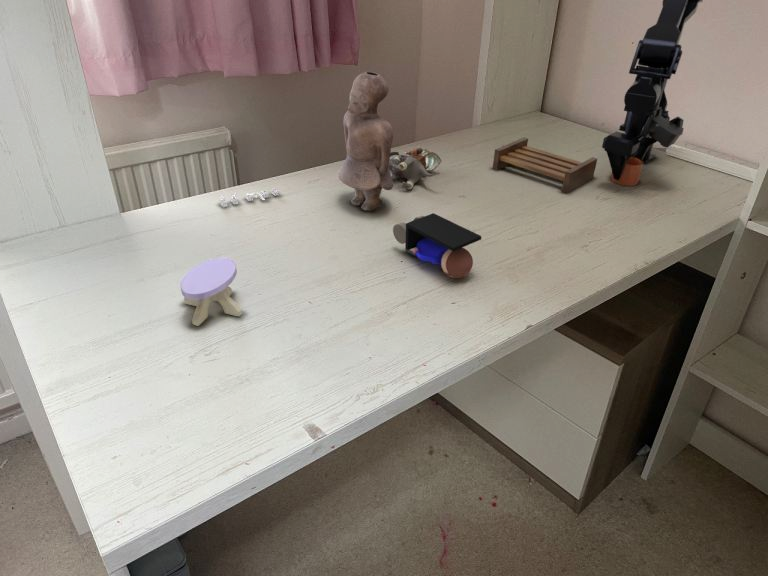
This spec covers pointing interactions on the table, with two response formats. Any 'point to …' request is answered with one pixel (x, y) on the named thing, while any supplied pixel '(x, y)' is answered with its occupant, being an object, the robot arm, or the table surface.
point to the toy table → (210, 287)
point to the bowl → (630, 172)
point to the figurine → (412, 165)
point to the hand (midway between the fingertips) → (625, 173)
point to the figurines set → (247, 197)
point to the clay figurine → (367, 142)
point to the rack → (545, 163)
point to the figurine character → (438, 243)
